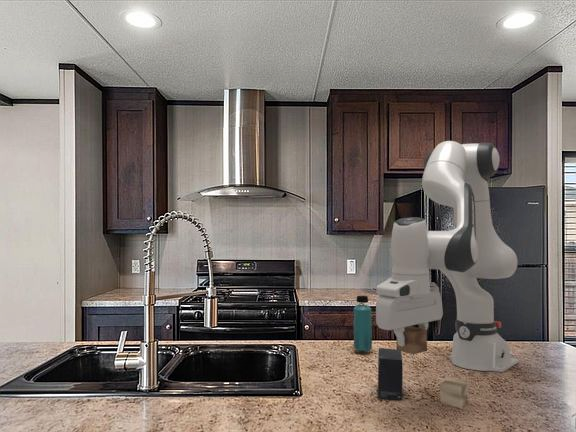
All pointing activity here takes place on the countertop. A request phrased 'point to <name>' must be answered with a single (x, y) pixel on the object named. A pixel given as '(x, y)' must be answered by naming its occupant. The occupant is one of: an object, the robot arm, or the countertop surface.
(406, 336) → the walnut cube
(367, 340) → the beverage bottle
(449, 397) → the maple cube
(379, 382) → the small box
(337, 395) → the countertop surface
